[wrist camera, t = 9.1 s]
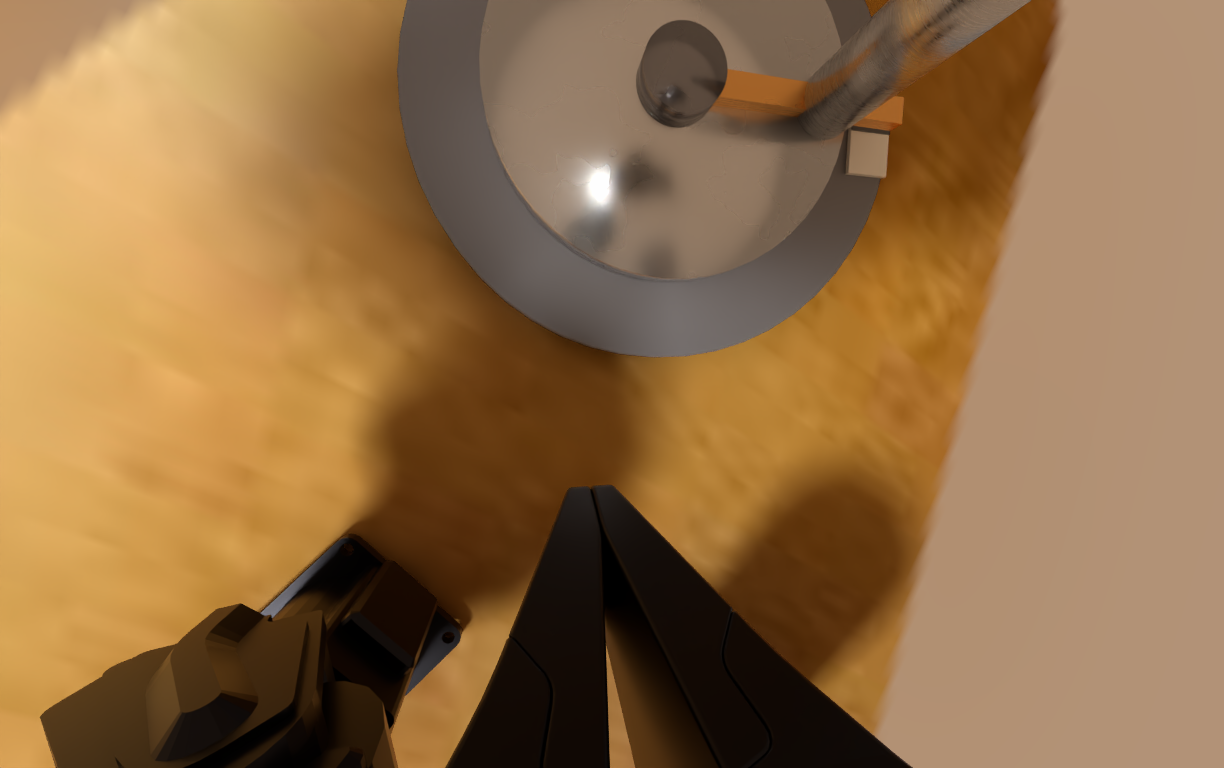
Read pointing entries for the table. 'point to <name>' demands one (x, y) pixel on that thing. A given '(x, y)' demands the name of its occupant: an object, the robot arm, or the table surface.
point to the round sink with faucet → (695, 115)
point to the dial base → (566, 283)
